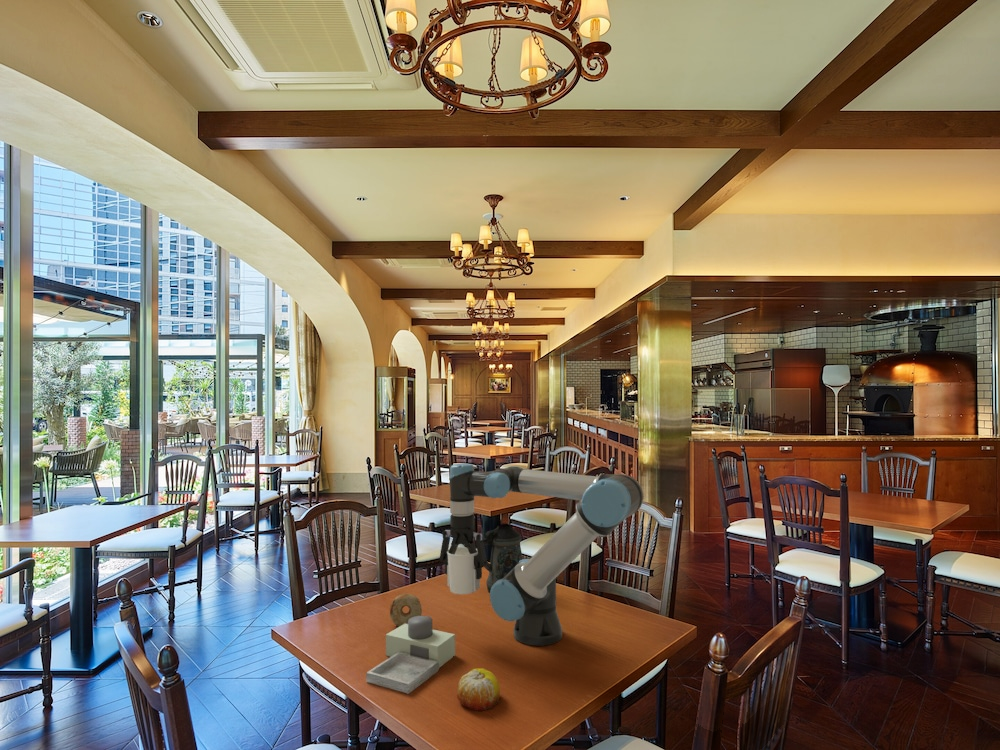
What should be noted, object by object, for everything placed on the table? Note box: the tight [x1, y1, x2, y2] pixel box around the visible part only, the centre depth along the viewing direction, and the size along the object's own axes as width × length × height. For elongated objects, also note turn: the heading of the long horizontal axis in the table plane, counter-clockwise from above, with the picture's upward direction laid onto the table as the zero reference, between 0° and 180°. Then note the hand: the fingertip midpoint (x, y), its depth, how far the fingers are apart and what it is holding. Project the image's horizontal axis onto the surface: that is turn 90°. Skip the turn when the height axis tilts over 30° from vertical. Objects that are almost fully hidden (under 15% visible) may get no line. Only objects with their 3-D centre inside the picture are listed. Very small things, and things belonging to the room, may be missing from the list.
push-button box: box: [385, 615, 456, 668], centre depth 162 cm, size 18×9×10 cm, turn 62°
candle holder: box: [447, 546, 478, 595], centre depth 174 cm, size 10×10×12 cm
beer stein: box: [483, 523, 523, 594], centre depth 216 cm, size 16×19×25 cm
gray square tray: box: [365, 652, 440, 695], centre depth 150 cm, size 14×14×2 cm
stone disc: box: [389, 593, 423, 627], centre depth 183 cm, size 10×4×10 cm, turn 97°
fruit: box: [456, 667, 501, 711], centre depth 137 cm, size 11×10×8 cm
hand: (463, 587), depth 174 cm, fingers closed on candle holder, 9 cm apart
